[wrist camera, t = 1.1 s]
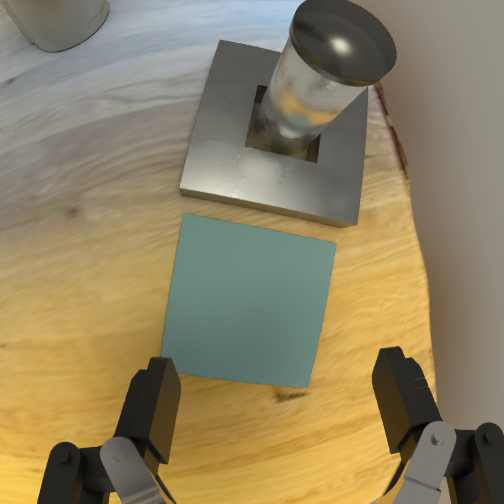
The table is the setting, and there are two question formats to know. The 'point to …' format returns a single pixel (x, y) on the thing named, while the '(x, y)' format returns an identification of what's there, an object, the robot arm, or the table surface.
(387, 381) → the robot arm
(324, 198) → the collar block
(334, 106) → the tumbler with black lid
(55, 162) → the table surface
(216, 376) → the rubber mat
